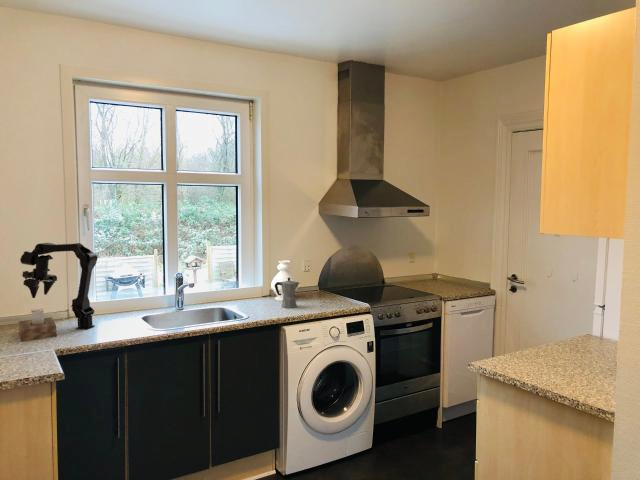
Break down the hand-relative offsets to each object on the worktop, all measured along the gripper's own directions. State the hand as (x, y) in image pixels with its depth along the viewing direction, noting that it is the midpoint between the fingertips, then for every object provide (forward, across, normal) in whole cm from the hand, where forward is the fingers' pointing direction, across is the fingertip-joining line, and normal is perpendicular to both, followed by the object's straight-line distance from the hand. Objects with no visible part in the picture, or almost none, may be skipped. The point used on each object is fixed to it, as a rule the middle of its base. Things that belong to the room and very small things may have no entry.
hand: (39, 296), depth 261 cm
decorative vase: (0, -82, +116) cm, 142 cm away
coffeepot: (-1, -58, +122) cm, 135 cm away
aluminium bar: (+13, +14, +10) cm, 21 cm away
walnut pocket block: (+15, +14, +10) cm, 23 cm away
